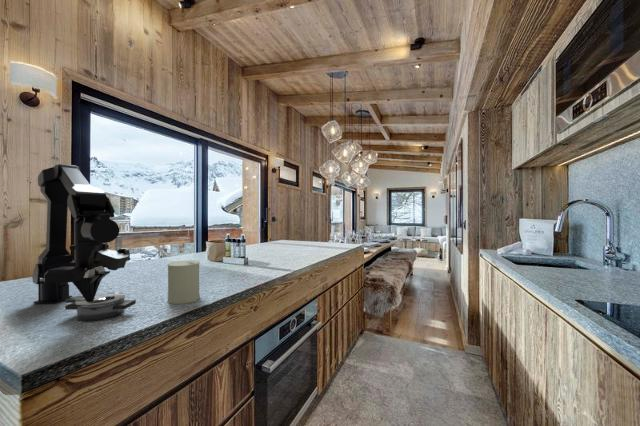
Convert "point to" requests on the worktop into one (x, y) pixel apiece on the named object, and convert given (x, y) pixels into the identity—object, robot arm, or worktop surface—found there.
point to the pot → (100, 310)
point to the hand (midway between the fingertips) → (90, 301)
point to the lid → (97, 299)
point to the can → (183, 282)
